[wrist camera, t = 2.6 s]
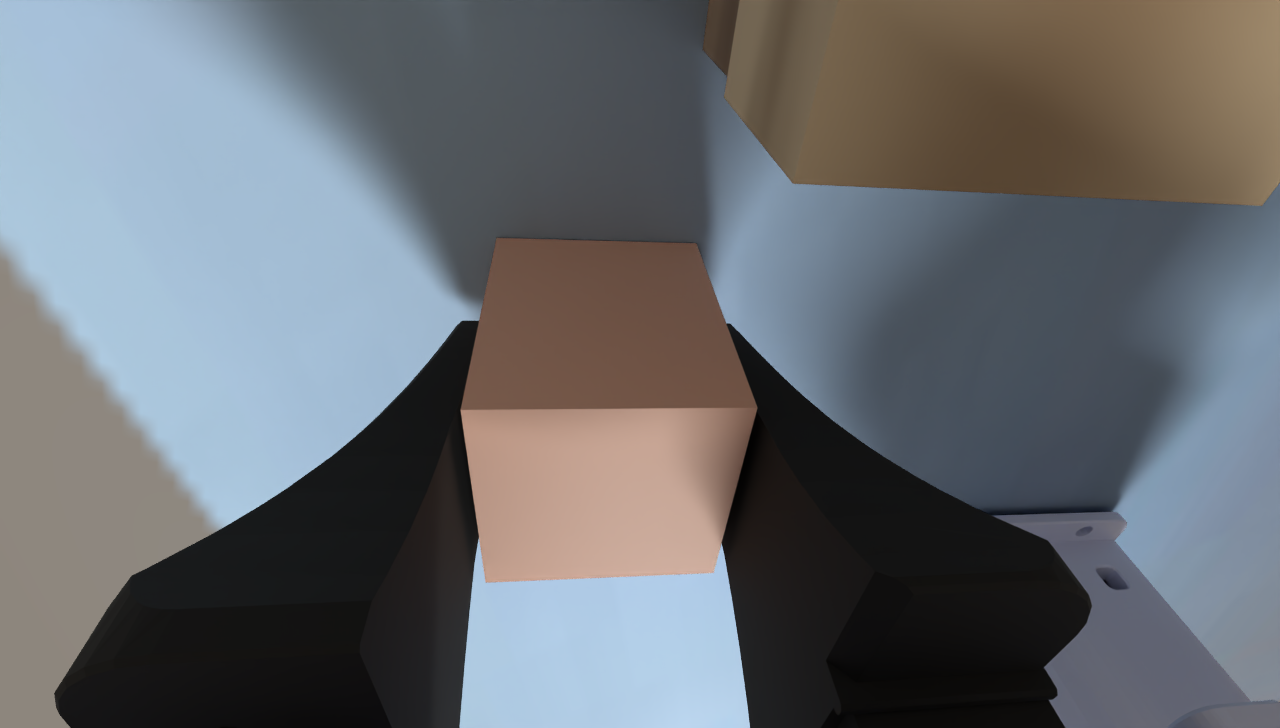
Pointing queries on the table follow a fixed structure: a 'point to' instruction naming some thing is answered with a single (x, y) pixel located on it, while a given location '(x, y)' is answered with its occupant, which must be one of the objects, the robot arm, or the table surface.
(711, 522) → the terracotta block
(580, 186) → the table surface
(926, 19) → the oak slab
